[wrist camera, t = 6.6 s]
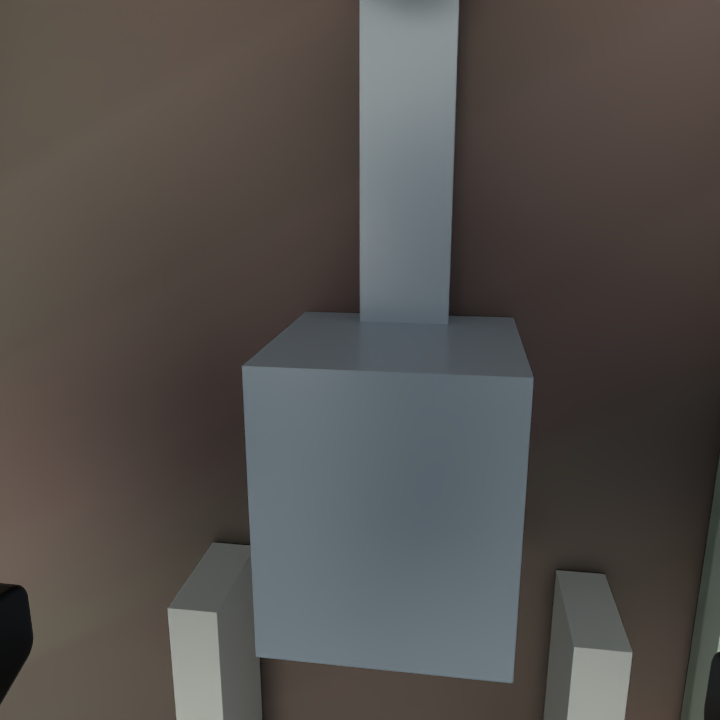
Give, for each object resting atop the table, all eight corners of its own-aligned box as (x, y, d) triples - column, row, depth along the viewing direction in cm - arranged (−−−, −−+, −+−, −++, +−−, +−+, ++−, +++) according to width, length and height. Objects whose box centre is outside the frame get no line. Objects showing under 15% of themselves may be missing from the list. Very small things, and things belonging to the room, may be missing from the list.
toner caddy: (500, 545, 18) (513, 683, 13) (310, 531, 18) (255, 657, 14) (540, -135, 14) (580, -302, 9) (295, -119, 14) (210, -266, 10)
